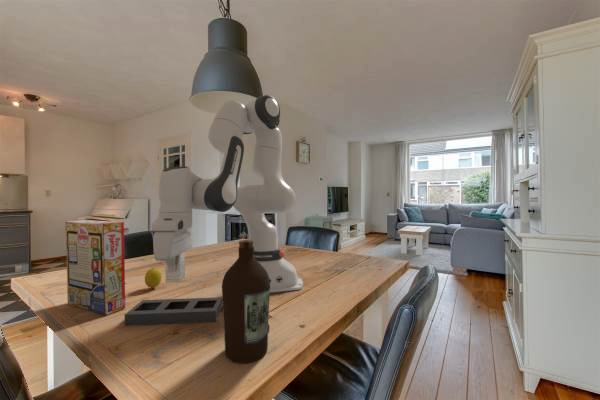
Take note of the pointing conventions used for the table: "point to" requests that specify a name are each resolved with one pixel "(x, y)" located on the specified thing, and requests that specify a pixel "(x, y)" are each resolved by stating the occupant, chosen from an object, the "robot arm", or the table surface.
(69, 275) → the cereal box
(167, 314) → the grey compartment tray
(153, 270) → the lemon
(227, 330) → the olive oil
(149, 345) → the table surface
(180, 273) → the steel peg
